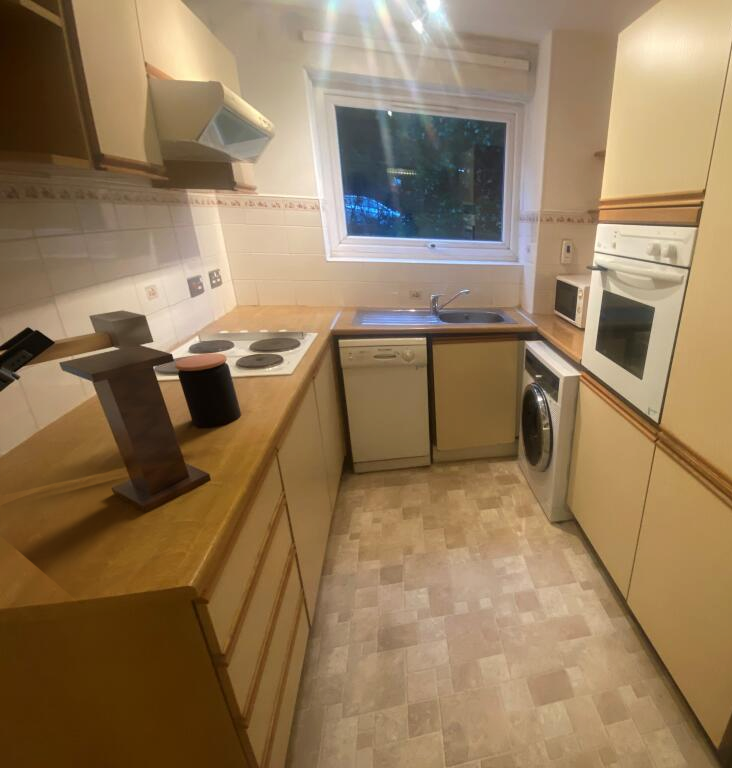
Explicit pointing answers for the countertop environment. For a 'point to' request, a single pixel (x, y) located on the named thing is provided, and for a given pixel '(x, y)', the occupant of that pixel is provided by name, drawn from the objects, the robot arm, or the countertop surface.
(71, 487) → the countertop surface
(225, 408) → the coffee jar
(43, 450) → the countertop surface
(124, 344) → the mallet
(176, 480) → the stand
